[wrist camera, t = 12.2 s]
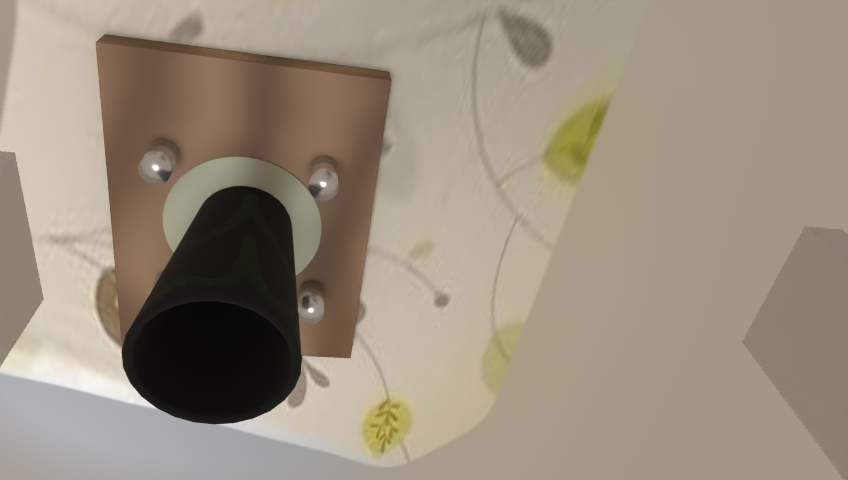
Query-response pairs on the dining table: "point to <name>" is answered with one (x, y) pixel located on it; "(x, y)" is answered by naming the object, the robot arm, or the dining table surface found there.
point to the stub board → (242, 164)
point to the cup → (222, 315)
